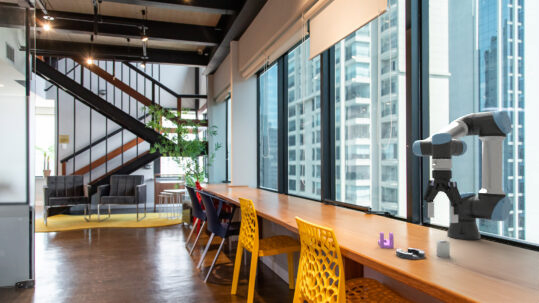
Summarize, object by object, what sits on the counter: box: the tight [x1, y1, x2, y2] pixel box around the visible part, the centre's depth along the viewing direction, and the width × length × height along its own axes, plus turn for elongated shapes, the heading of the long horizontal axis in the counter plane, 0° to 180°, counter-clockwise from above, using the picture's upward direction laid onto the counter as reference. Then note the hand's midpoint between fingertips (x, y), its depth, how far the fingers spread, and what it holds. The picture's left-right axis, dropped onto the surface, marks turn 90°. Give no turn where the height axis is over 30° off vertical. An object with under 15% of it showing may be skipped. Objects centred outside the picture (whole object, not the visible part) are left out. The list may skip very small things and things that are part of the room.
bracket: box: [377, 231, 395, 249], centre depth 168 cm, size 13×6×7 cm, turn 169°
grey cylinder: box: [435, 239, 451, 259], centre depth 147 cm, size 5×5×6 cm
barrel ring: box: [395, 247, 426, 260], centre depth 148 cm, size 11×11×2 cm
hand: (442, 220), depth 148 cm, fingers open, 13 cm apart
